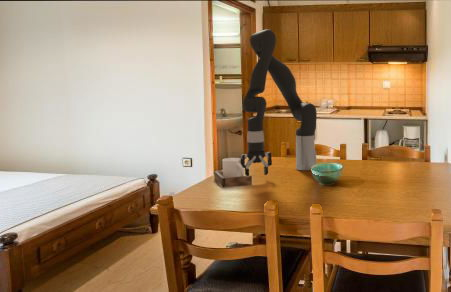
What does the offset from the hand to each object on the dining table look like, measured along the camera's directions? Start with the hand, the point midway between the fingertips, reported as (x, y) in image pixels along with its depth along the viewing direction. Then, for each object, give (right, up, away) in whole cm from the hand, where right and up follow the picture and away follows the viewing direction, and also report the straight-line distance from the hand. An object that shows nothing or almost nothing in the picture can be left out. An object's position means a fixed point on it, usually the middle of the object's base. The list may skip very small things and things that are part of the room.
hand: (256, 175), depth 232 cm
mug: (-10, -3, -2) cm, 11 cm away
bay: (-10, -3, -2) cm, 11 cm away
